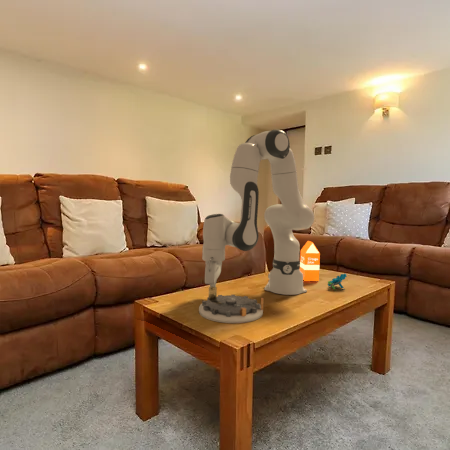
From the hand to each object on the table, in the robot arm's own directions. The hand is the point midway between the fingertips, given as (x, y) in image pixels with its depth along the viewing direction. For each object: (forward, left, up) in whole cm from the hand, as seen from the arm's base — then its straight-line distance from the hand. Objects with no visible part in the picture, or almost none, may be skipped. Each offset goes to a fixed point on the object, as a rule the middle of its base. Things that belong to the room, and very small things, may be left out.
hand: (212, 290), depth 131 cm
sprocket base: (+10, +8, -5) cm, 14 cm away
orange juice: (-47, +44, -5) cm, 64 cm away
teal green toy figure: (-31, +54, -5) cm, 63 cm away
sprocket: (+11, +8, -3) cm, 14 cm away
